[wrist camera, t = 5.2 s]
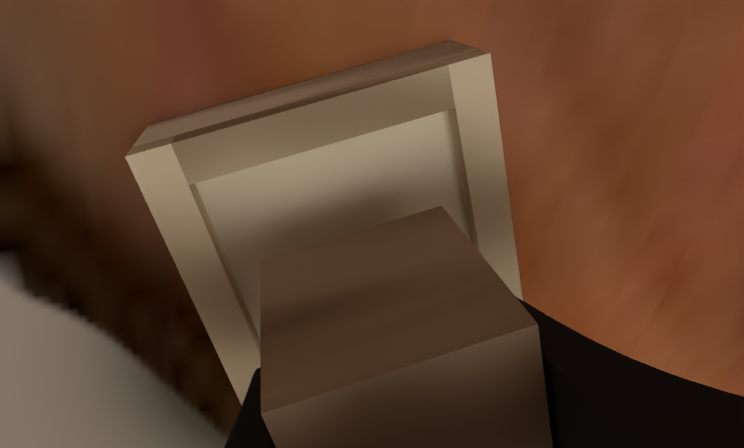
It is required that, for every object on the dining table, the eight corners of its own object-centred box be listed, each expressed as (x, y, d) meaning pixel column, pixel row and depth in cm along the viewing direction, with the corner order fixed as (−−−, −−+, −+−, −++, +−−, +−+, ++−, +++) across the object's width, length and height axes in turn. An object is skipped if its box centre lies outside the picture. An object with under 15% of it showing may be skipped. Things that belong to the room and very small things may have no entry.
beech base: (491, 290, 22) (527, 338, 19) (253, 365, 21) (252, 428, 18) (451, 40, 18) (490, 52, 15) (148, 124, 17) (125, 156, 14)
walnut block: (469, 349, 15) (560, 506, 11) (313, 399, 15) (337, 584, 10) (441, 205, 13) (537, 323, 9) (259, 260, 13) (260, 414, 8)
